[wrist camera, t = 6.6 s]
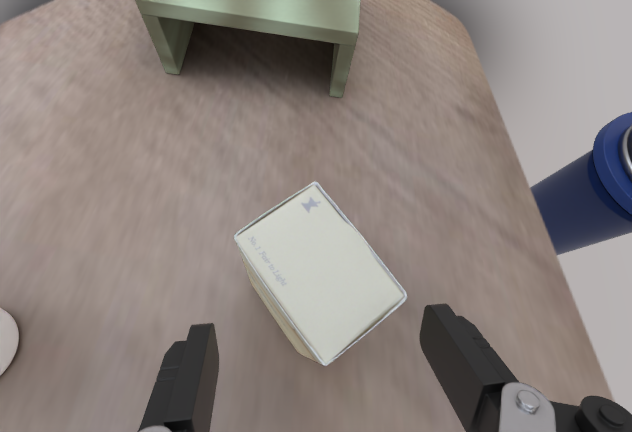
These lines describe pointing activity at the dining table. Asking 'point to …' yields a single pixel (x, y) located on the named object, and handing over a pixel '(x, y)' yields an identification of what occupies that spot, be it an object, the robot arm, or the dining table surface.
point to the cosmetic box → (317, 274)
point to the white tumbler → (7, 339)
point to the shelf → (256, 26)
